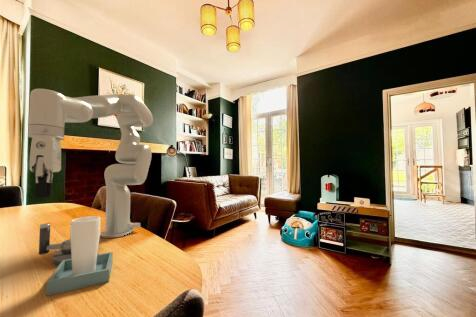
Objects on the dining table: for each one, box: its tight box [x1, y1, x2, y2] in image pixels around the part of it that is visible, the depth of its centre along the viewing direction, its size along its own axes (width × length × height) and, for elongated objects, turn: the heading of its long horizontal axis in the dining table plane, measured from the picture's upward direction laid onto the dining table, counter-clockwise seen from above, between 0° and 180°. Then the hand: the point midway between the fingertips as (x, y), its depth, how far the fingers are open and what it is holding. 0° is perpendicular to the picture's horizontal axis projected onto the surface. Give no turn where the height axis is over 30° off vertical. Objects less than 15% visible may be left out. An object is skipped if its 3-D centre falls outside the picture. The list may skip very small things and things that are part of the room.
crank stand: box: [51, 249, 72, 267], centre depth 68 cm, size 16×9×3 cm, turn 38°
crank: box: [38, 222, 71, 256], centre depth 65 cm, size 11×5×9 cm, turn 112°
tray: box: [45, 251, 114, 297], centre depth 55 cm, size 12×12×3 cm
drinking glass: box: [69, 215, 102, 276], centre depth 55 cm, size 7×7×15 cm
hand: (43, 196), depth 57 cm, fingers closed
